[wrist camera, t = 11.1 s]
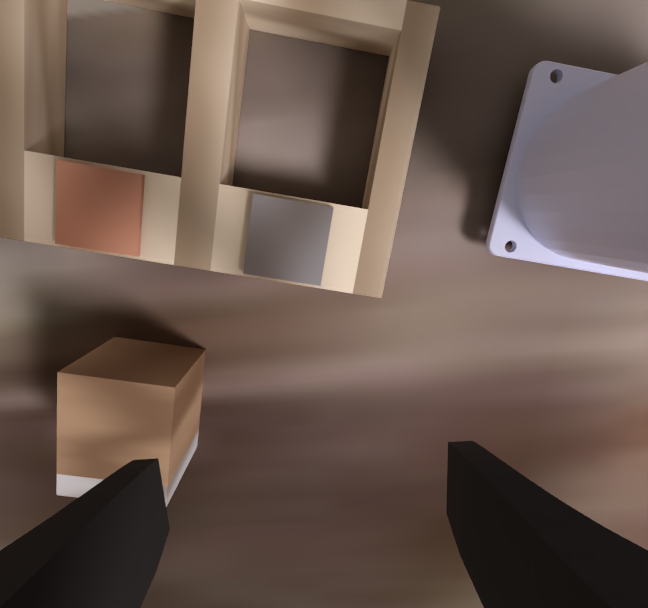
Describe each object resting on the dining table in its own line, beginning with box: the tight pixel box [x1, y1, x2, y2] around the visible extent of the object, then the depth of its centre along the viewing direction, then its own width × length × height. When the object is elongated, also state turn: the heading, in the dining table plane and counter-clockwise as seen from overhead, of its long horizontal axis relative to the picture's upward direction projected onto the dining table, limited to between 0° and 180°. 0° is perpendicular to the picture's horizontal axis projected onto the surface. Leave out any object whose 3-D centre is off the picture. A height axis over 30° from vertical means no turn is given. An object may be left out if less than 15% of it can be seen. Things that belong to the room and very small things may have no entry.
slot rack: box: [0, 0, 440, 298], centre depth 16 cm, size 16×11×3 cm
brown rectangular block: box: [57, 337, 206, 507], centre depth 18 cm, size 4×4×6 cm
